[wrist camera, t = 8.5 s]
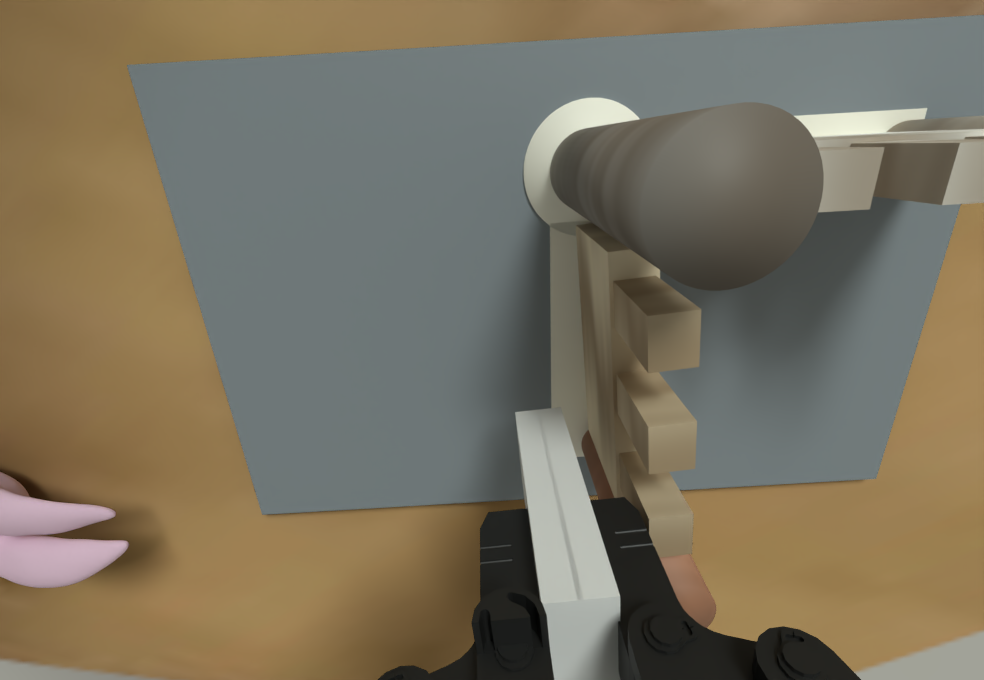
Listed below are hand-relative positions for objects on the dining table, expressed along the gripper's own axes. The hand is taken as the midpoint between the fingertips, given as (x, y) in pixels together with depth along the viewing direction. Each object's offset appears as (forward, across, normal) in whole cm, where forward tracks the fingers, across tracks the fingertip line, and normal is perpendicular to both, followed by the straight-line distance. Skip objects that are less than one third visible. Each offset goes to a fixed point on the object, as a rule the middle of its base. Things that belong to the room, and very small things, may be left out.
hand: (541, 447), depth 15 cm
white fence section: (+3, -7, -8) cm, 11 cm away
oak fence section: (+2, -3, -2) cm, 4 cm away
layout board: (+3, -2, -3) cm, 5 cm away
